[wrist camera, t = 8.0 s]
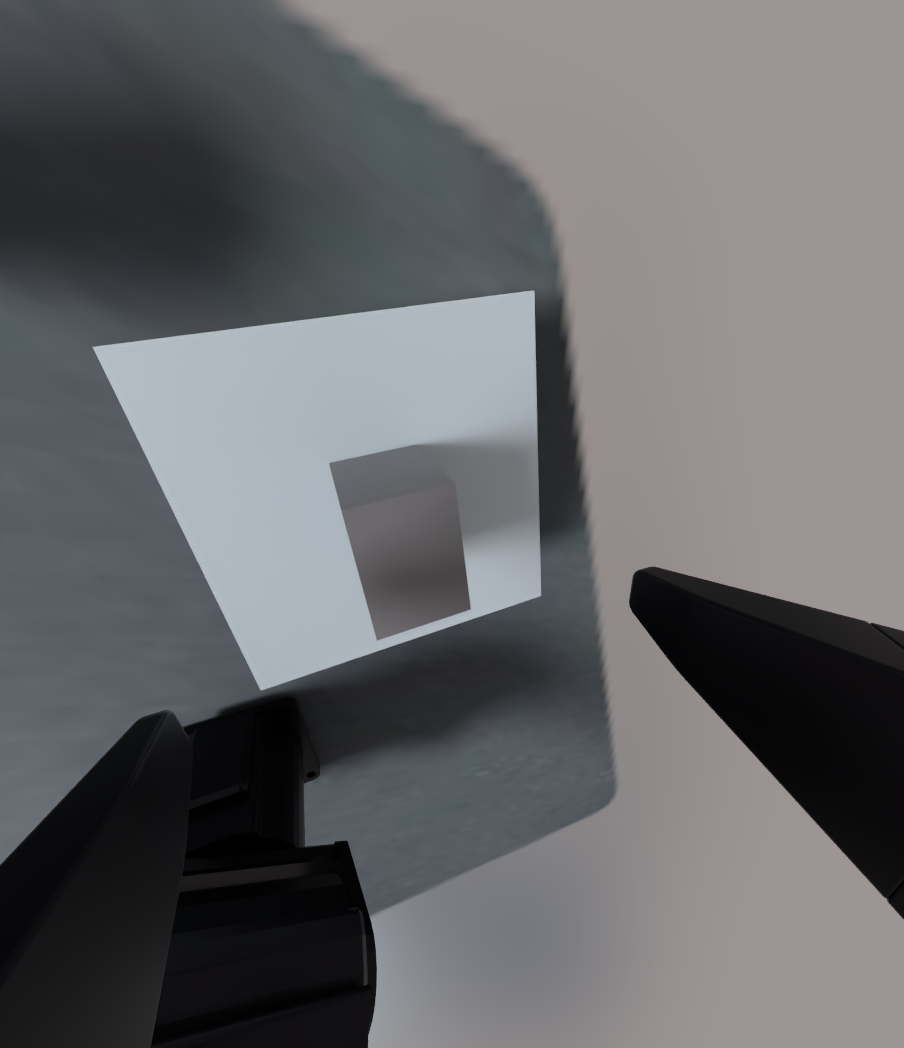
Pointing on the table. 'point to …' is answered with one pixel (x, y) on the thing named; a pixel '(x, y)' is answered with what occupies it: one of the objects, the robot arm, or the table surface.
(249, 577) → the lid
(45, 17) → the table surface
